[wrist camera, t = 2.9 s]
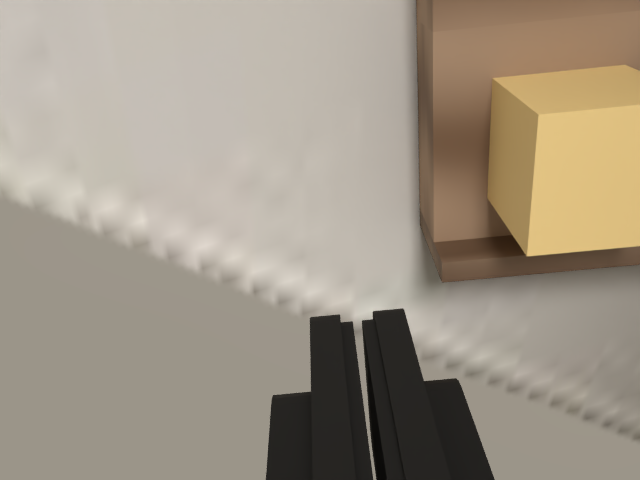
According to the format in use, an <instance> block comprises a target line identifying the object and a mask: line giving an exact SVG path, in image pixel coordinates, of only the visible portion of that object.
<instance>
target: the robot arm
mask: <svg viewBox="0 0 640 480" xmlns="http://www.w3.org/2000/svg"><path fill="white" fill-rule="evenodd" d="M362 329H363V342H364V355H365V368H366V380H367V392H368V406H369V419H370V431H371V442H372V450H373V457H374V465H375V471H376V479H377V480H494V477H493V474H492V471H491V468H490V466H489V463H488V460H487V457H486V455H485V452H484V449H483V446H482V443H481V441H480V438H479V435H478V432H477V429H476V427H475V424H474V421H473V419H472V416H471V413H470V410H469V407H468V404H467V401H466V399H465V396H464V393H463V390H462V388H461V385H460V383H459V381H458V380H457V379H456V378H455V379H444V380H433V381H423V377H422V373H421V370H420V366H419V362H418V359H417V355H416V351H415V348H414V344H413V341H412V337H411V333H410V330H409V326H408V322H407V319H406V315H405V312H404V309H393V310H382V311H373V320H363V321H362ZM310 351H311V392H304V393H293V394H282V395H273V397H272V404H271V416H270V431H269V445H268V460H267V473H266V480H373V475H372V467H371V460H370V452H369V444H368V436H367V429H366V422H365V413H364V406H363V398H362V390H361V383H360V375H359V367H358V359H357V352H356V345H355V336H354V329H353V322H340V315H330V316H319V317H310Z"/></svg>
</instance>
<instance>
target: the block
mask: <svg viewBox="0 0 640 480" xmlns="http://www.w3.org/2000/svg"><path fill="white" fill-rule="evenodd" d="M487 198H488V200H489V201H490V203H491V204H492V206H493V207H494V208H495V210H496V211H497V213H498V214H499V216H500V217H501V219H502V220H503V222H504V223H505V225H506V226H507V228H508V229H509V231H510V232H511V234H512V235H513V237H514V238H515V240H516V241H517V243H518V244H519V246H520V247H521V249H522V250H523V251H524V253H525V254H526V256H537V255H548V254H559V253H570V252H581V251H592V250H603V249H613V248H624V247H635V246H640V71H639V70H636V69H634V68H632V67H629V66H627V65H618V66H608V67H598V68H588V69H578V70H569V71H559V72H549V73H539V74H529V75H519V76H509V77H500V78H492V101H491V124H490V147H489V170H488V193H487Z"/></svg>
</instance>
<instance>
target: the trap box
mask: <svg viewBox="0 0 640 480" xmlns="http://www.w3.org/2000/svg"><path fill="white" fill-rule="evenodd" d="M416 4H417V64H418V123H419V182H420V226H421V229H422V231H423V234H424V236H425V239H426V242H427V244H428V247H429V249H430V252H431V255H432V257H433V260H434V263H435V265H436V268H437V270H438V273H439V276H440V278H441V281H442V282H452V281H463V280H474V279H485V278H496V277H507V276H518V275H529V274H540V273H551V272H562V271H573V270H584V269H595V268H606V267H617V266H628V265H639V264H640V246H635V247H624V248H613V249H603V250H592V251H581V252H570V253H559V254H548V255H537V256H526V254H525V253H524V251H523V250H522V249H521V247H520V246H519V244H518V243H517V241H516V240H515V238H514V237H513V235H512V234H511V232H510V231H509V229H508V228H507V226H506V225H505V223H504V222H503V220H502V219H501V217H500V216H499V214H498V213H497V211H496V210H495V208H494V207H493V206H492V204H491V203H490V201H489V200H488V198H487V193H488V170H489V147H490V124H491V101H492V78H500V77H509V76H519V75H529V74H539V73H549V72H559V71H569V70H578V69H588V68H598V67H608V66H618V65H627V66H629V67H632V68H634V69H636V70H639V71H640V0H416Z"/></svg>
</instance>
